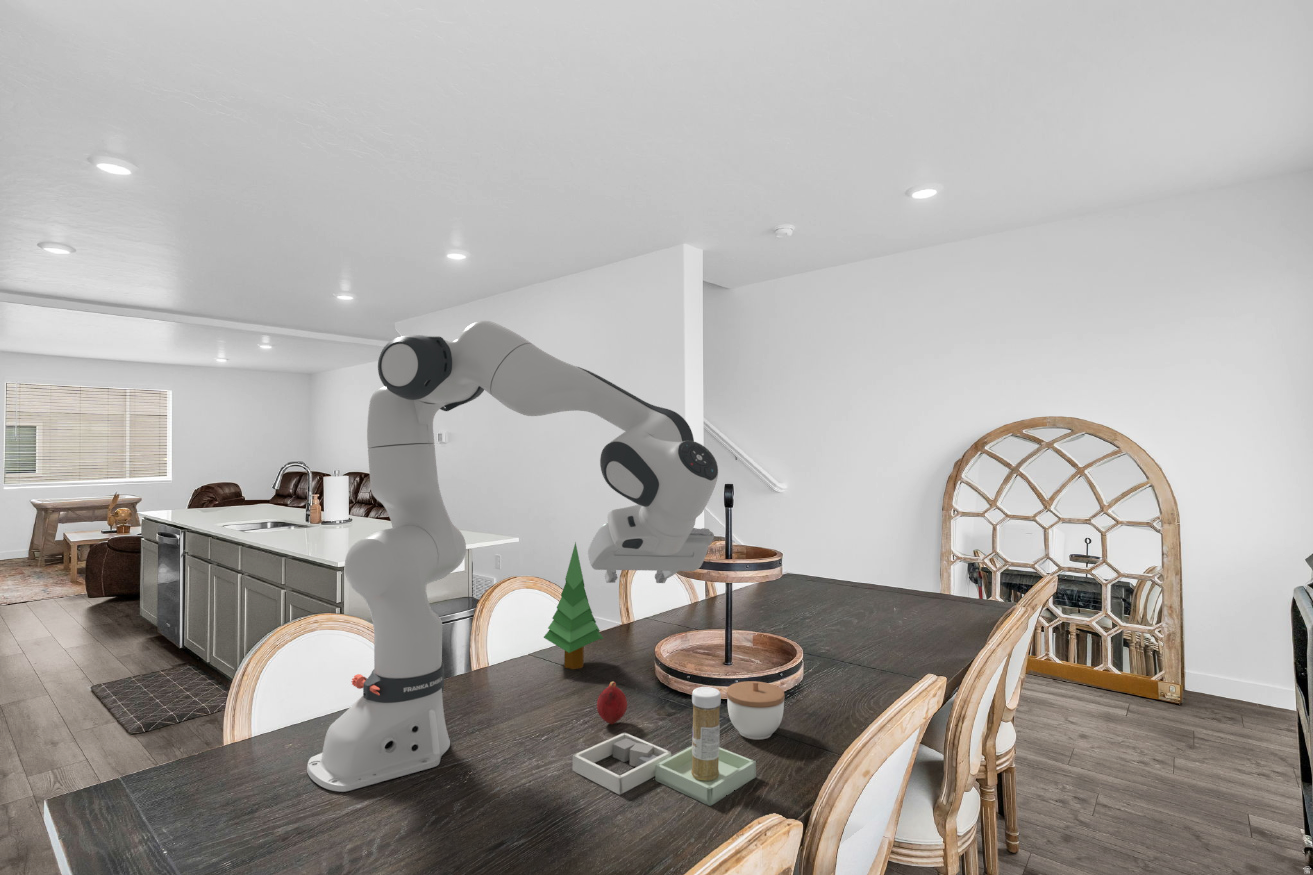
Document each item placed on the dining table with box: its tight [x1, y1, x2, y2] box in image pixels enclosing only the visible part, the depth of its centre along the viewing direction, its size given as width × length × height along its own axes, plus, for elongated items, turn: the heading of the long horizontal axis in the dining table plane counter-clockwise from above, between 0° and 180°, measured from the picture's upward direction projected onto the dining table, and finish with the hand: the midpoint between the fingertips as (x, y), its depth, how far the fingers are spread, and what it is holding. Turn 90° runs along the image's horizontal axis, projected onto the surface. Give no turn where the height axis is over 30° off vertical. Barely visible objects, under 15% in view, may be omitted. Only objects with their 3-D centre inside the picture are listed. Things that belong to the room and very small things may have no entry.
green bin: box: [654, 745, 757, 807], centre depth 106 cm, size 12×11×2 cm
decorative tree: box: [543, 541, 605, 670], centre depth 160 cm, size 14×16×30 cm
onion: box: [596, 681, 628, 725], centre depth 126 cm, size 6×6×8 cm
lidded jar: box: [726, 680, 786, 741], centre depth 123 cm, size 11×11×9 cm
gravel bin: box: [572, 732, 672, 796], centre depth 109 cm, size 12×11×3 cm
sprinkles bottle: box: [691, 686, 722, 781], centre depth 106 cm, size 5×5×14 cm
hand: (634, 579), depth 115 cm, fingers open, 8 cm apart
